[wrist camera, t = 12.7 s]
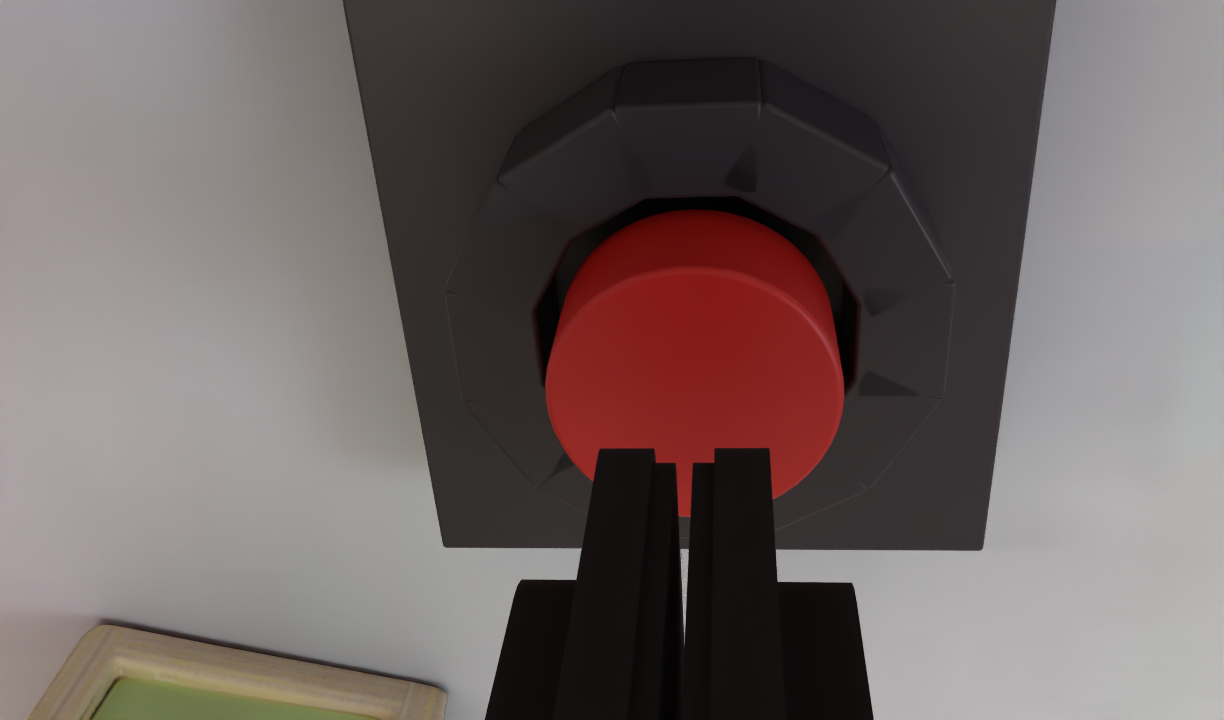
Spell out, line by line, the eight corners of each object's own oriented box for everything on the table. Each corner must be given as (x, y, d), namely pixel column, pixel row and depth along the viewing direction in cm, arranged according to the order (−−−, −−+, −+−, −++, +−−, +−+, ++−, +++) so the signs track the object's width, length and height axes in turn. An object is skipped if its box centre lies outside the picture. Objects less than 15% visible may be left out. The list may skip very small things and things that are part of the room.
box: (375, -95, 16) (279, -36, 12) (1028, -132, 15) (1118, -78, 12) (467, 472, 21) (417, 624, 18) (959, 471, 20) (1007, 632, 17)
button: (549, 210, 14) (529, 271, 13) (838, 202, 14) (851, 264, 12) (574, 442, 16) (558, 520, 15) (828, 440, 16) (839, 520, 14)
